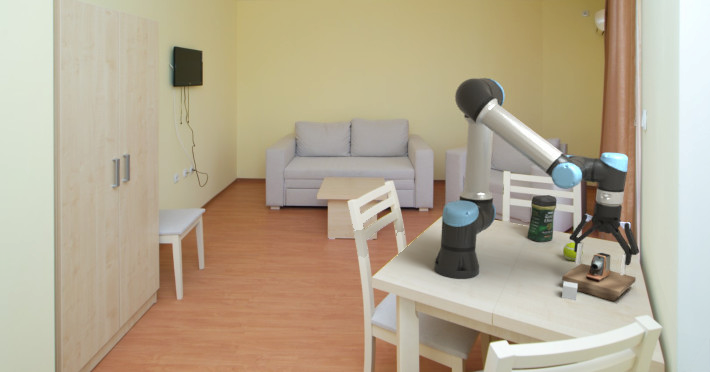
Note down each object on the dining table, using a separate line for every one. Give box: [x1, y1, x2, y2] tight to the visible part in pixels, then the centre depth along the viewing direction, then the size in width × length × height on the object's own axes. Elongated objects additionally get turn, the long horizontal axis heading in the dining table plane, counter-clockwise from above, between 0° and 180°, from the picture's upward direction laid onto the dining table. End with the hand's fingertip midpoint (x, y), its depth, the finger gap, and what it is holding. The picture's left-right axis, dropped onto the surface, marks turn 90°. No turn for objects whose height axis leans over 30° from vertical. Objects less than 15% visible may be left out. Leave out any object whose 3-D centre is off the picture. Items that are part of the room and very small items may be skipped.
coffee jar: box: [527, 194, 557, 243], centre depth 213 cm, size 10×8×19 cm
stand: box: [561, 262, 637, 302], centre depth 167 cm, size 17×16×4 cm
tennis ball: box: [562, 241, 584, 262], centre depth 191 cm, size 7×7×7 cm
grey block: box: [561, 281, 578, 301], centre depth 160 cm, size 4×4×4 cm
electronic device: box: [586, 252, 611, 282], centre depth 165 cm, size 4×10×8 cm, turn 137°
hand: (599, 268), depth 166 cm, fingers open, 13 cm apart
